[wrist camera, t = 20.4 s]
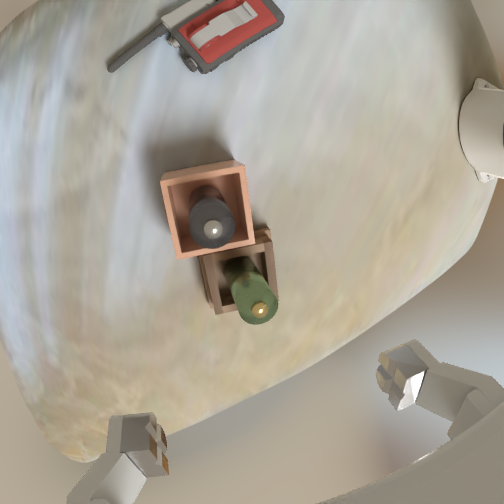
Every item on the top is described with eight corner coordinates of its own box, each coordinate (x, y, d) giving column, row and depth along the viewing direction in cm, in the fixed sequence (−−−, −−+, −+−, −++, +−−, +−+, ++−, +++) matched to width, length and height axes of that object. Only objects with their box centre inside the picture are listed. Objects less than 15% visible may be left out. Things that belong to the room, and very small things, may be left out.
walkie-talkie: (245, -26, 26) (105, 67, 28) (253, -41, 22) (95, 59, 24) (288, 24, 30) (150, 119, 32) (301, 13, 26) (146, 118, 28)
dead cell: (221, 182, 35) (233, 203, 26) (225, 215, 36) (239, 247, 28) (185, 188, 34) (185, 211, 26) (191, 222, 36) (194, 255, 27)
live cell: (255, 254, 39) (280, 290, 30) (255, 283, 40) (279, 324, 32) (223, 257, 38) (240, 295, 29) (224, 286, 40) (240, 330, 31)
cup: (234, 159, 35) (244, 165, 30) (244, 226, 38) (255, 243, 33) (163, 172, 34) (159, 181, 28) (177, 239, 37) (177, 259, 32)
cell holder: (268, 227, 39) (275, 236, 36) (275, 289, 43) (282, 303, 40) (195, 241, 38) (197, 252, 35) (209, 304, 41) (212, 319, 38)
